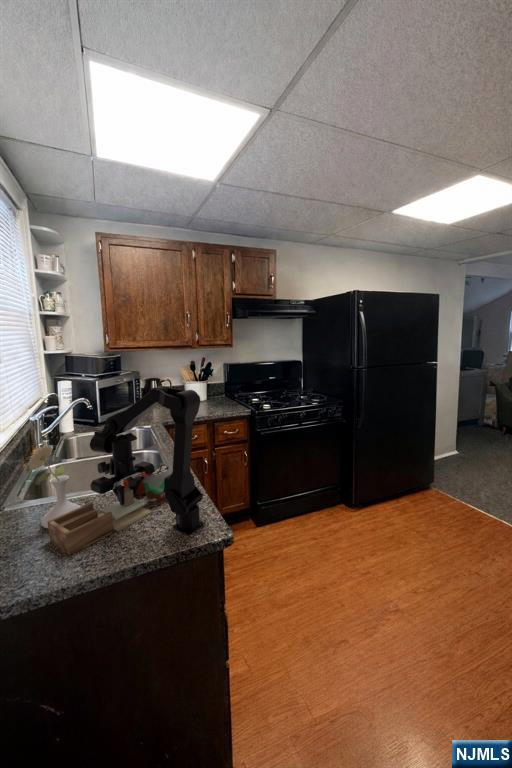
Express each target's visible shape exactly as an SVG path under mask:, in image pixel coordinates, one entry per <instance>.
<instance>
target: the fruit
mask: <svg viewBox="0 0 512 768" xmlns="http://www.w3.org/2000/svg"><path fill="white" fill-rule="evenodd" d="M149 475H150V474H149ZM149 475H147V474H145V471H144V472H142V473H141V476H143V477H144V476H149ZM122 481H123V482H122V485H123V486H124V488H127V487H128V488H129V484H128V481H127V479H124V480H122ZM144 493H146V490H145V483H143V480H142V481H141V483H140V485H139V487H138V489H137V492H136V494H135V496H139V495H142V494H144Z"/></svg>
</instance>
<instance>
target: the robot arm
mask: <svg viewBox="0 0 512 768" xmlns="http://www.w3.org/2000/svg"><path fill="white" fill-rule="evenodd" d="M158 405H161V407H164V408H166V409H169V415H170V417H171V418H172V420H173V423H174V432H173V433H174V434H173V435H174V436H173V437H174V438H173V453H172V454H173V455H172V458H173V459H172V470H171V474H170V475H169V476H167V477H166V478H165V479H164V486H165V487H164V490H163V492H165V497H166V500H167V504H168V506H169V508H170V511H171V513H174V514H175V522H176V524H174V525H172V529H174V530H175V531H177V532H180V533H182V534H184V535H187V536H188V535H190V534H192V533H194V531H196V530H198V529H199V528H201V527H202V526H204V521H202V520H200V506H198V504H199V503H200V502H201V501H202V500H203V496H204V494H203V493H202V491H200V489H199V488H198V487H197V486H196V484H195V476H194V475H193V473H192V471H191V463H192V462H191V461H192V460H191V459H192V445H193V428H194V427H193V426H194V421H195V419H196V417H197V415H198V414H199V409H200V406H201V396H200V395H199V394H198V392H196V391H195V390H193V389H187V390H186V389H181V388H180V389H179V388H173V387H170V386H167V385H166V386H165V385H160V386H154V387H152V388H151V389H150V390H149V392H147V393H146V394H145V395H144V396H142V397H141V398H139V399H138V400H137V401H136V402H135V403H133V404H132V405H131V406H129V407H128V408H126V409H125V410H123V411H120V412H117V413H115V414H113V415H110V416H109V417H107V418H106V420H105V425H104V427H103V428H102V430H100V429H99V430H95V431H94V432H93V433H94V435H93V436H92V437H91V440H90V442H89V448H90V450H91V451H93V452H96V453H103V454H111V455H112V456H111V457H110V458H109V462H108V463H107V462H106V461H101V462H99V463H97V471H98V474H104V475H105V476H106V475H108V474H109V475H111V476H112V477H105V476H101V477H98V478H96V479H92V481H91V483H90V485H89V486H90V491H92V492H94V493H97V494H99V495H103V494H106V493H109V492H110V491H112V492H113V494H114V496H115V497H116V498H117V501H119V502H120V504H121V505H124V485H123V484H122V481H123V480H124V479H127V481H128V484H129V488H130V489H133V496H134V498H135V496H136V495H135V494H136V492H137V489H138V487H139V485H140V483H141V481H142V480H143V479H144V477H143V476H141V473H142V472H144V471H145V474H147V475H149V474H151V473H154V472H155V470H156V467H155V465H154V464H153V463H151V462H148V461H145V460H144V461H140V462H139V463H136V464H134V461H136V456H134V455H133V454H134V453H133V443H132V442H133V441H135V440H136V441H137V440H138V437H137V436H136V435H135V434H133V433H132V432H129V431H131V430H132V429H133V428H134V427H135V426H136V425H137V424H138V422H139V420H140V419H141V417H143V416H144V415H146V414H147V413H148V412H150V411H151V410H152V409H154V408H156V407H157V406H158ZM126 432H128V433H126ZM124 433H125V434H124Z"/></svg>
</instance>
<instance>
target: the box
mask: <svg viewBox="0 0 512 768" xmlns="http://www.w3.org/2000/svg"><path fill="white" fill-rule="evenodd" d="M98 515H99V514H98V510H97V509H96V508H94V502H93V503H92V502H90V503H87V504H85V505H83V506H81V507H80V508H78V509H75V510H73V511H71V512H69V513H66V514H64V515H62V516H59V517H57V518H55V519H52V520H50V521H48V528H47V529H48V536H49V542H50V543H51V544H53V545H54V546H56V547H57V548H59V549H60V550H62V552H63V553H66V554H67V555H69V556H72V555H73V554H75V553H77V552H80V551H81V550H83V549H84V548H86V547H89V546H90V545H92V544H94V543H96V542H97V541H100V540H101V539H103V538H105V537H107V536H108V535H110V534H112V533H114V532H115V530H114V528H113V517H112V512H108V513H106V514H104V515H102V516H100V517H98Z"/></svg>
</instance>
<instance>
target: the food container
mask: <svg viewBox="0 0 512 768" xmlns="http://www.w3.org/2000/svg"><path fill="white" fill-rule="evenodd" d="M170 474H172V470H171V468H170V466H169V465H168V464H167V463H160V466H158V468H155V472H154V473H151V474H150V475H149V476H144V479H143V483H145V490H146V492H145V495H146V502H147V503H146V504H149V505H150V504H158V503H161V502H163V501H165V499H166V497H165V492H163V490H164V487H165V486H164V479H165V478H166V477H167V476H169V475H170ZM166 500H167V499H166Z"/></svg>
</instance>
